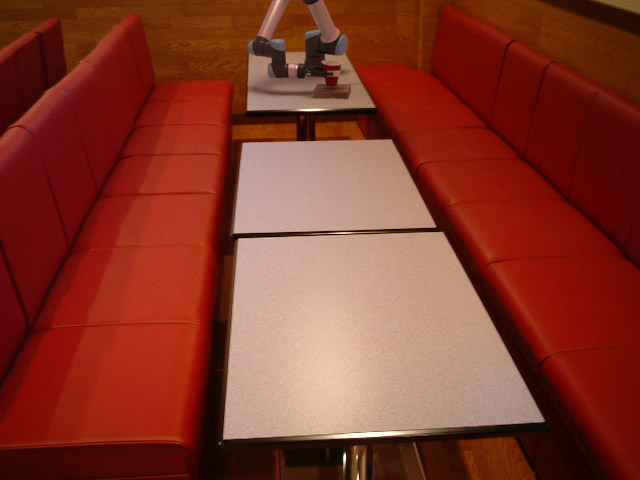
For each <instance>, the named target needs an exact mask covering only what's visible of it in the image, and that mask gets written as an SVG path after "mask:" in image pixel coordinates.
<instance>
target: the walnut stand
mask: <svg viewBox="0 0 640 480" xmlns="http://www.w3.org/2000/svg"><path fill="white" fill-rule="evenodd" d="M351 87H352V85H351V84H350V83H337V85H336V86H327V85H326V83H316V86H314V90H313V92H312V98H313V99H323V100H326V99H327V100H329V98H330V99H331V98H335V99H336V100H341V99H342V100H346V99H347V100H348V99H349V97H350V93H351V90H352V88H351ZM335 99H334V100H335Z"/></svg>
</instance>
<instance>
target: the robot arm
mask: <svg viewBox="0 0 640 480" xmlns="http://www.w3.org/2000/svg"><path fill="white" fill-rule="evenodd" d="M301 1H302V3H303V4H304V5H305V6H307V7H308V9H309V11H310V13H311V16H312V17H313V20H314V22H315V24H316V26H317V28H318V29H316V30H310V31H307V32H305V34H304V50H305V51H304V52H305V56H304V57H305V58H304V61H303V63H287V55H286V53H287V49H286V41H285V40H284V39H283V38H282V39H281V38H276V39H275V38H274V39H273V37H274V34H275V32H276V29H277V27H278V25H279V23H280V21H281V18H282V16H283V14H284V12H285V9H286V7H287V5H288V3H291V0H272V1H271V4H270V5H269V7H268V10H267V13H266V15H265V16H264V20H263V22H262V24H261V26H260V28H259V31H258V33H257V36H256V37H255V38H254V39H255V40H250V41H249V42H248V44H247V51H248V53H249V54H250V55H251V56H255V57H263V58H264V57H265V58H271V59H270V60H271V62H270V63H268V64H267V75H268V77H269V78H271V79H291V80H294V79H298V80H299V79H305V78H306V77H308V78H309V77H314V78H324V79H325V78H327V76H331V77H340V76H341V73H342V70H343V69H342V66H341V67H340V71H323V65H322V61H324V60H327V59H326V55H328V56H329V55H330V56H335V57H339V56H343V55H344V54H346V51H347V49H348V44H349V40H348V37H347V35H345V34H342V33H341V31H340V29H339V28H338V27H335V24H334V22H333V19H332V18H331V15H330V13H329V11H328V8H327V6H326V4H325V2H324V0H301Z"/></svg>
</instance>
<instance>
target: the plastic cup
mask: <svg viewBox="0 0 640 480" xmlns="http://www.w3.org/2000/svg"><path fill="white" fill-rule="evenodd" d="M322 65H323V71H340V67H342V65H343V62H342V61H339V60H334V59H333V60H332V59H326V60H324V61H322ZM324 81H325V84H326V85H327V86H336V85H337V84H339V82H338V81H339V77H331V76H327V78H325V77H324Z"/></svg>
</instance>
